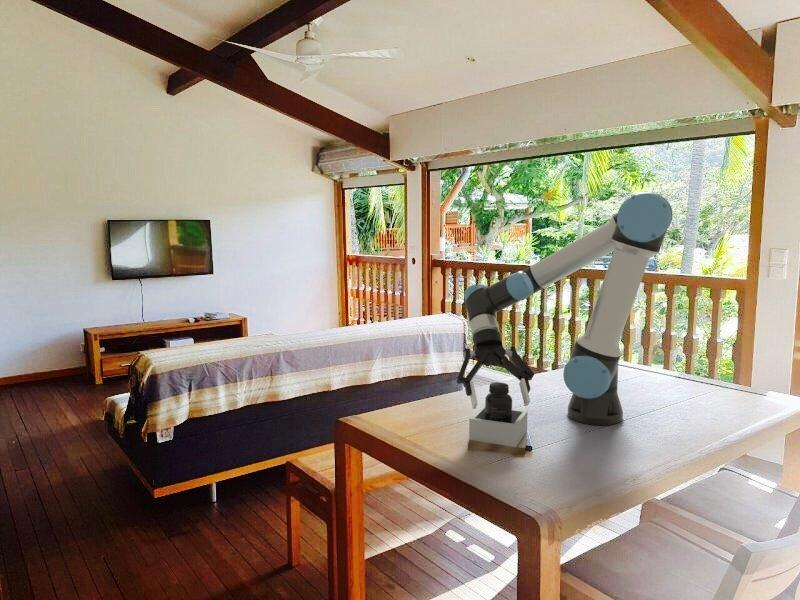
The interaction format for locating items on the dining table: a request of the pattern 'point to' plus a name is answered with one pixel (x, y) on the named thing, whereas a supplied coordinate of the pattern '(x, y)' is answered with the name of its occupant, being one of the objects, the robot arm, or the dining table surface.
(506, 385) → the supplement bottle
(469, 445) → the walnut plinth
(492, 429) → the grey square open box
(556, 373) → the dining table surface
